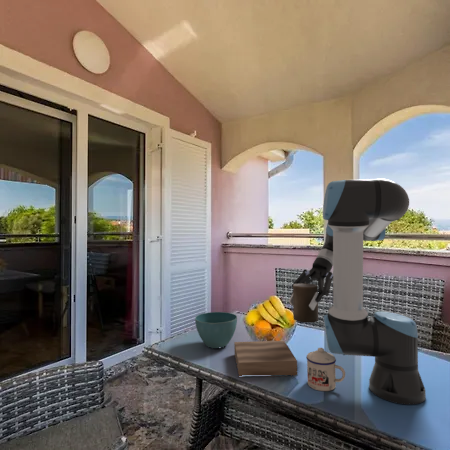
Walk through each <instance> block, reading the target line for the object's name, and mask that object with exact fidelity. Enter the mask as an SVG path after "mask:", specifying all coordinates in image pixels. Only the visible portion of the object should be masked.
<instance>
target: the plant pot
mask: <svg viewBox="0 0 450 450" xmlns="http://www.w3.org/2000/svg"><path fill="white" fill-rule="evenodd" d="M194 320H195V321H194V322H195V327H196V331H197V333H198V335H199V338H200V340H202V342H203V343H204V345H205V346H206V347H207V346H208V348H209V347H212V348H211V349H213V348H219V347H223V348H225V347H227V346H228V344H229V343H230V342H231V340H232V338H233V336H234V334H235V332H236V330H237V329H236V328H237V323H238V316H237V315H236V314H235V313H231V312H227V311H225V312H224V311H210V312H204V313H201V314H197V315H196V316H195V318H194ZM224 346H225V347H224ZM219 349H220V348H219Z"/></svg>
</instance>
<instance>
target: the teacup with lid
mask: <svg viewBox="0 0 450 450" xmlns="http://www.w3.org/2000/svg"><path fill="white" fill-rule="evenodd" d="M306 362H307V363H306V365H307V367H306V369H307V371H306V372H307V374H306V375H307V378H306V379H307V385H308V386H309V387H310V388H312V389H313V390H316V391H319V392H329V391H330V392H331V391H333V390H334V389H335V388H336V386H337V385H336V383H341V382H343V381H344V380H345V378H346V370H345V369H344V368H343V367H342V366H341V365H338V364H337V365H336V362H337V358H336V357H335V355H334V354H333V353H331V352H328V351H326V350H325V349H324V348H323V347H317V350H314V351H311V352H308V353H307V355H306ZM336 369H338V370H340V372H341V374H342V376H341V378H336Z"/></svg>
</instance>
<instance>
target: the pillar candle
mask: <svg viewBox="0 0 450 450" xmlns="http://www.w3.org/2000/svg"><path fill="white" fill-rule="evenodd" d="M292 290H293V291H292V292H293V306H292V308H293V309H292V312H293V313H292V315H293V320H294V321H296V322H299V323H317V322H319V303H317V305H316V307H315V309H314V310H312V309H311V308H310V307H309V304H310V302H311V301H312V299H313V297H314V295H315V293H316V292H318V284H316V283H315V284H314V283H309V284H306V283H301V284H294V285H293V287H292ZM318 293H319V292H318Z"/></svg>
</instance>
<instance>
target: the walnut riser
mask: <svg viewBox="0 0 450 450" xmlns="http://www.w3.org/2000/svg"><path fill="white" fill-rule="evenodd" d="M285 341H286V340H265V341H263V340H262V341H261V340H260V341H234V344H233V346H234V359H235V358H236V360H235V364H236V363H237V365H236V369H237V368H238V370H237V374H239V375H238V377H239V376H242V375H291V376H290V377H293V376H295V375H297V376H298V360H297V358H296V356H295V355H294V354H293V352H292V350H291V349H290V347H289V346H288V345H287V343H286V342H285ZM292 375H293V376H292Z"/></svg>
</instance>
